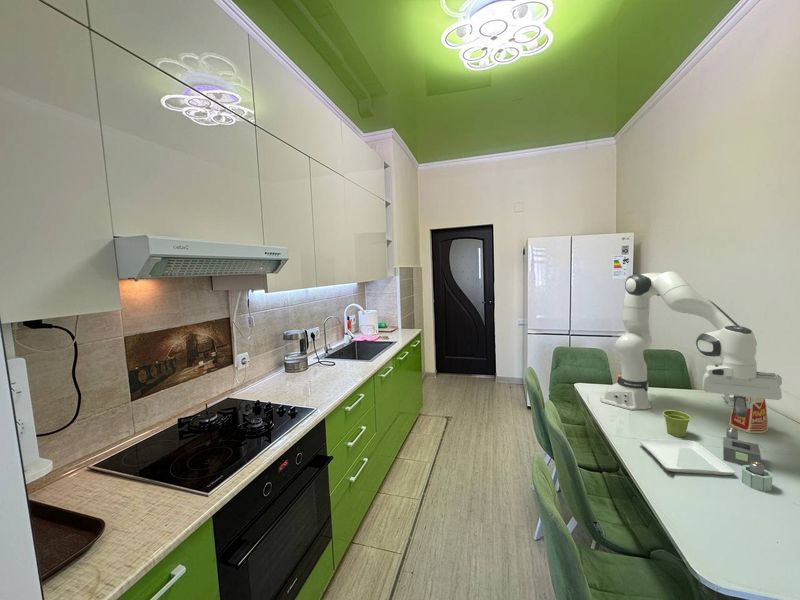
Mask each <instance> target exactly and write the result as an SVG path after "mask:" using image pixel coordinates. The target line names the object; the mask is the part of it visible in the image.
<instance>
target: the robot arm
mask: <svg viewBox="0 0 800 600" xmlns="http://www.w3.org/2000/svg"><path fill="white" fill-rule="evenodd" d="M624 287H625V292H624V298H623V305H622V316H621V317H622V318H621V319H622V323H623V324H624V325H623V326H624V329H625V332H624V334H622V335H621V336H619V337H618V339H616V341H615V343H614V348H615V350H616V352H617V353H618V356H619V361H620V367H621V368H620V371H621V372H620V373H621V374H618V375H617V376H616V377H617V378H616V383H613V384H611V385H610V386H607V387H606V389H605V392H604V393H603V394H601V395H600V396H599V401H600V402H601V403H604V404H607V405H612V406H614V407H617V408H618V407H619V408H623V409H626V410H629V411H636V410H647V409H648V410H649V409H650V408H651V407H652V405H651V403H650V402H651V401H650V398H649V395H648V394H649V393H648V390H649V381H648V368H647V367H648V366H647V363H646V361H645V358H644V351H646V350H647V349H649V347H650V346H651V344H652V336H651V332H650V325H649V323H650V321H649V318H650V300H651V299H652V297H653V296H657V297H658V296H660V297H661V298H662V300H663V301H664V302H665V304H666V306H667V307H669V309H671V310H672V311H674V312H678V313H681V314H687V315H688V314H689V315H694V316H699V317H701V318H703V319H706V320H707V321H708V322H709V323H711V325H713V326H714V327H715V329H716V330H715V331H709V332H704V333H700V334H699V335H698V336H697V337H696V342H695V344H696V348H697V350H698V351H699V353H700V354H702V355H704V356H707V357H714V358H715V357H716V358H717V357H718V358H721V362H720V363H714V364H708V365H706V367H705V370H706V371H705V373H704V374H703V376H702V384H701V386H702V390H703V391H704V392H705V393H710V394H718V395H719V394H720V395H722V394H724V397H725V398H726V399H727V401H728V402H727V405H728V407H732V408H733V407H734V401H731V400H730V399H729V398H728V397H730V395H736V396H745V397H750V399H751V400H750V401H749V403H748V402H746V408H749V409H752V405H753V404H754V403H755V402H756V401H757V398H763V399H765V400H772V401H780V400H781V399H782V398H783V395H782V393H783V392H782V389H781V385H782V384H783V378H782V377H781V376H780V375H779V374H776V373H774V372H763V371H758V370H757V361H756V354H757V339H756V337H755V333H754V332H753V331H752V329H750V328H748V327H745V326H740V325H739V324H738V323H737V322H735V321H734V319H732V317H730V316H729V315H728V314H727V313H726V312H725V311H723V310H722V309H721V308H720V307H719V306H718V305H717V304H715V303H714V302H713V301H711V300H710V299H707V298H706V297H704V296H702V294H700V293H699V292H697V291H696V290H695V289H694V288H693V286H692V285H690V283H689V282H688V281H687V280H686V279H685V278H684V277H683V276H681V275H680V274H679V273H678V272H676V271H665V272H648V273H636V274H631V275H630V276H627V278H626V280H625V282H624Z"/></svg>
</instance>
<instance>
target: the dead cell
mask: <svg viewBox="0 0 800 600" xmlns="http://www.w3.org/2000/svg"><path fill="white" fill-rule="evenodd" d="M764 469H765V465H764V464H763V463H761V462H760V463H759V462H754V461H751V462H750V472H751V473H753V474H756V475H760V476H764Z"/></svg>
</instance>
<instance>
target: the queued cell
mask: <svg viewBox="0 0 800 600" xmlns="http://www.w3.org/2000/svg"><path fill="white" fill-rule="evenodd" d="M725 435H726V436H725V437H727V438H731V439H736V440H739V429H737V428H735V427H726V434H725Z"/></svg>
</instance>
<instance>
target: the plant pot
mask: <svg viewBox="0 0 800 600" xmlns="http://www.w3.org/2000/svg"><path fill="white" fill-rule="evenodd" d="M662 414H663V416H664V420H665V425H666V432H667V433H668V434H669V435H672V436H675V437H677V438H678V437H679V438H683V437H686V435H687V430H688V427H689V426H688V425H689V423H690V420H691V419H692V417H691V415H690V414H687V413H685V412H682V411H678V410H673V409H667V410H663V411H662Z"/></svg>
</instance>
